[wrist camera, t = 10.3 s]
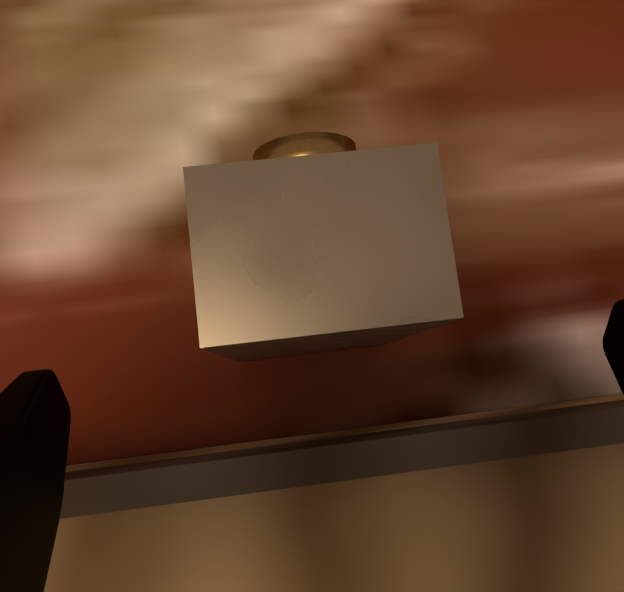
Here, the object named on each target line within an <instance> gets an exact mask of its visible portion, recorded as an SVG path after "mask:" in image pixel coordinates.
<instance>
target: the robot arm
mask: <svg viewBox="0 0 624 592" xmlns="http://www.w3.org/2000/svg"><path fill="white" fill-rule="evenodd" d="M603 349H604V352H605V355H606V357H607V359H608V362H609V364H610V366H611V368H612V371H613V373H614V375H615V377H616V380H617V382H618V384H619V386H620V388H621V391H622V393H623V395H624V299H623V300H619V301H617V302H616V303H615V304H614V306H613V308H612V311H611V314H610V317H609V320H608V324H607V327H606V330H605V333H604V336H603ZM70 422H71V412H70V407H69V404H68V401H67V399H66V397H65V394H64V392H63V390H62V388H61V386H60V383H59V381H58V379H57V377H56V375H55V373H54V372H53V371H52V370H50V369H40V370H32V371H26V372H23V373H22V374H20V375H19V376H18V377H17V378H16V379H15V380H14V381H13V382H12V383H11V384H9V385H8V386H7V387H6V388H5V389H4V390H3V391H2V392H1V393H0V592H44V589H45V584H46V580H47V575H48V571H49V566H50V562H51V557H52V553H53V548H54V543H55V539H56V534H57V530H58V525H59V520H60V515H61V510H62V502H63V494H64V484H65V474H66V463H67V453H68V442H69V432H70Z"/></svg>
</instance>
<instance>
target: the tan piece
mask: <svg viewBox="0 0 624 592" xmlns="http://www.w3.org/2000/svg"><path fill="white" fill-rule="evenodd" d="M44 592H624V395H623V394H617V395H609V396H601V397H594V398H586V399H578V400H570V401H563V402H555V403H547V404H539V405H532V406H524V407H516V408H508V409H501V410H493V411H485V412H478V413H470V414H462V415H454V416H447V417H439V418H431V419H423V420H416V421H408V422H400V423H392V424H385V425H377V426H369V427H362V428H354V429H346V430H338V431H331V432H323V433H315V434H307V435H300V436H292V437H284V438H276V439H269V440H261V441H253V442H246V443H238V444H230V445H222V446H215V447H207V448H199V449H191V450H184V451H176V452H168V453H161V454H153V455H145V456H137V457H130V458H122V459H114V460H106V461H99V462H91V463H83V464H75V465H68V466H66V474H65V484H64V494H63V502H62V510H61V515H60V520H59V525H58V530H57V534H56V539H55V543H54V548H53V553H52V557H51V562H50V566H49V571H48V575H47V580H46V584H45V589H44Z"/></svg>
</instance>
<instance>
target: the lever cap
mask: <svg viewBox="0 0 624 592" xmlns="http://www.w3.org/2000/svg"><path fill="white" fill-rule="evenodd" d="M183 172H184V183H185V193H186V204H187V215H188V226H189V236H190V247H191V258H192V269H193V279H194V290H195V301H196V312H197V322H198V333H199V344H200V348H201V349H204V350H207V351H210V352H213V353H216V354H219V355H221V356H224V357H227V358H230V359H233V360H236V361H239V362H247V361H255V360H264V359H272V358H281V357H289V356H298V355H306V354H315V353H323V352H332V351H340V350H349V349H358V348H366V347H375V346H382V345H385V344H387V343H390V342H393V341H396V340H399V339H402V338H405V337H408V336H411V335H414V334H417V333H420V332H423V331H426V330H429V329H432V328H435V327H437V326H440V325H443V324H446V323H449V322H452V321H455V320H458V319H461V318H464V316H463V309H462V303H461V296H460V289H459V283H458V276H457V270H456V263H455V257H454V250H453V243H452V237H451V230H450V224H449V217H448V211H447V204H446V198H445V191H444V184H443V178H442V171H441V165H440V158H439V152H438V145H437V143H427V144H416V145H406V146H396V147H386V148H375V149H365V150H356V145H355V143H354V141H353V140H352V139H350V138H348V137H346V136H344V135H340V134H336V133H329V132H307V133H298V134H292V135H288V136H284V137H280V138H277V139H274V140H271V141H269V142H267V143H265V144H263V145H261V146H260V147H259V148H257V149H256V150H255V151H254V153H253V155H252V161H242V162H232V163H221V164H211V165H201V166H191V167H183Z"/></svg>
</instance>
